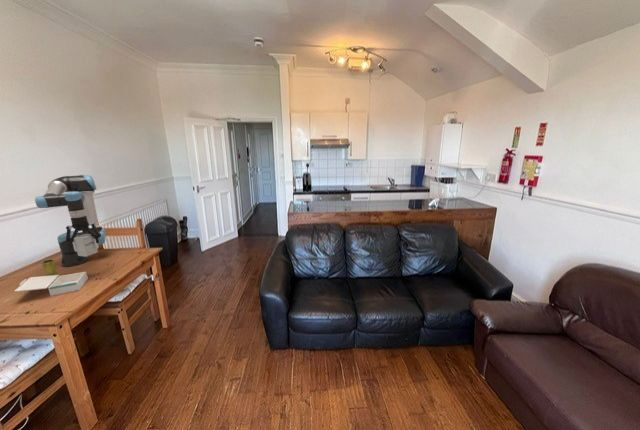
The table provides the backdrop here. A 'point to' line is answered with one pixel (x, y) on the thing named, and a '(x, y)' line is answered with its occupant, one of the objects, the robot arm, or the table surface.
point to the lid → (36, 283)
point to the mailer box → (68, 283)
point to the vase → (50, 268)
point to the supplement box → (85, 245)
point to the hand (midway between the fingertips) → (87, 249)
